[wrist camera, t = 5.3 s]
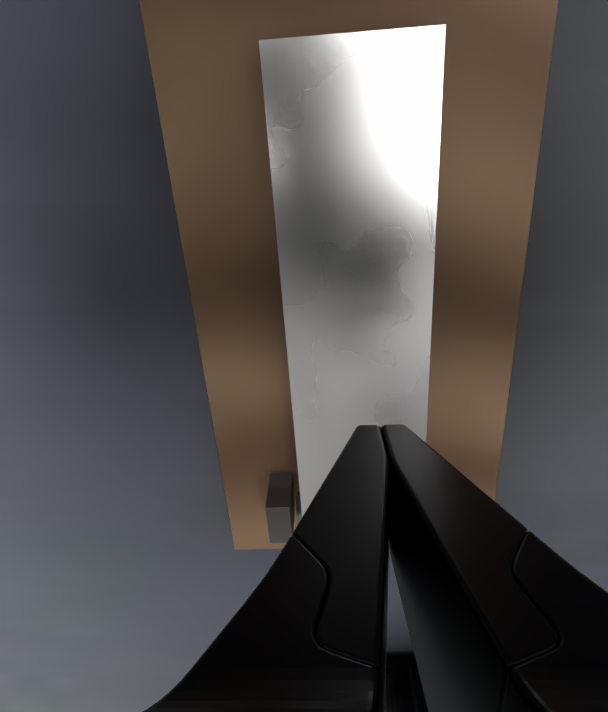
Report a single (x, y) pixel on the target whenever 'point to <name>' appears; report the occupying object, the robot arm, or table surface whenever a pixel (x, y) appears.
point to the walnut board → (258, 229)
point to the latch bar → (354, 229)
